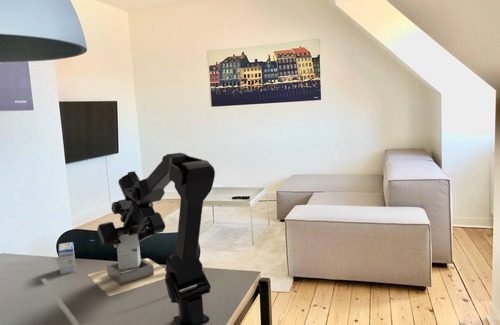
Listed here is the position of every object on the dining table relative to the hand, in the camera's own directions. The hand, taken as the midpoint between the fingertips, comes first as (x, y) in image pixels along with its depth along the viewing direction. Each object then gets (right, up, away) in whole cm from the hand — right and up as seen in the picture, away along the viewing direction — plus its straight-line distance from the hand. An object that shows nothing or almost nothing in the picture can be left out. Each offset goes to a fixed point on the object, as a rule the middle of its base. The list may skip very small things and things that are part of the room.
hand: (126, 243), depth 121 cm
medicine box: (-21, -11, +8) cm, 25 cm away
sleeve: (+1, -10, 0) cm, 10 cm away
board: (+1, -11, 0) cm, 11 cm away
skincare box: (+1, -7, 0) cm, 7 cm away
